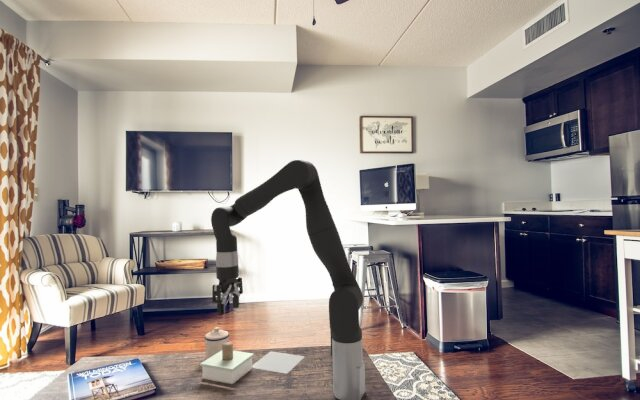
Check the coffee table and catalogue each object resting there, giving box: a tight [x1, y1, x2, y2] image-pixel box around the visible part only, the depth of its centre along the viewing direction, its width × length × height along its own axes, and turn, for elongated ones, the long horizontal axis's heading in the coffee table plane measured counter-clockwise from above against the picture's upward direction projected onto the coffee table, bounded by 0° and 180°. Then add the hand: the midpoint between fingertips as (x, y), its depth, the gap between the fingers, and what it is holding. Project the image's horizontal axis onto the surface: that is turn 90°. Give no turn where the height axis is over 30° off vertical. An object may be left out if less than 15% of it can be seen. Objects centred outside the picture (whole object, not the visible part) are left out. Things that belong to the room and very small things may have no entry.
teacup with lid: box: [204, 326, 230, 360], centre depth 145 cm, size 12×9×12 cm
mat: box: [252, 351, 306, 375], centre depth 138 cm, size 15×15×1 cm
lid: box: [199, 341, 255, 372], centre depth 129 cm, size 13×13×6 cm
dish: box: [201, 357, 254, 385], centre depth 129 cm, size 12×12×5 cm
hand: (228, 311), depth 129 cm, fingers open, 8 cm apart
